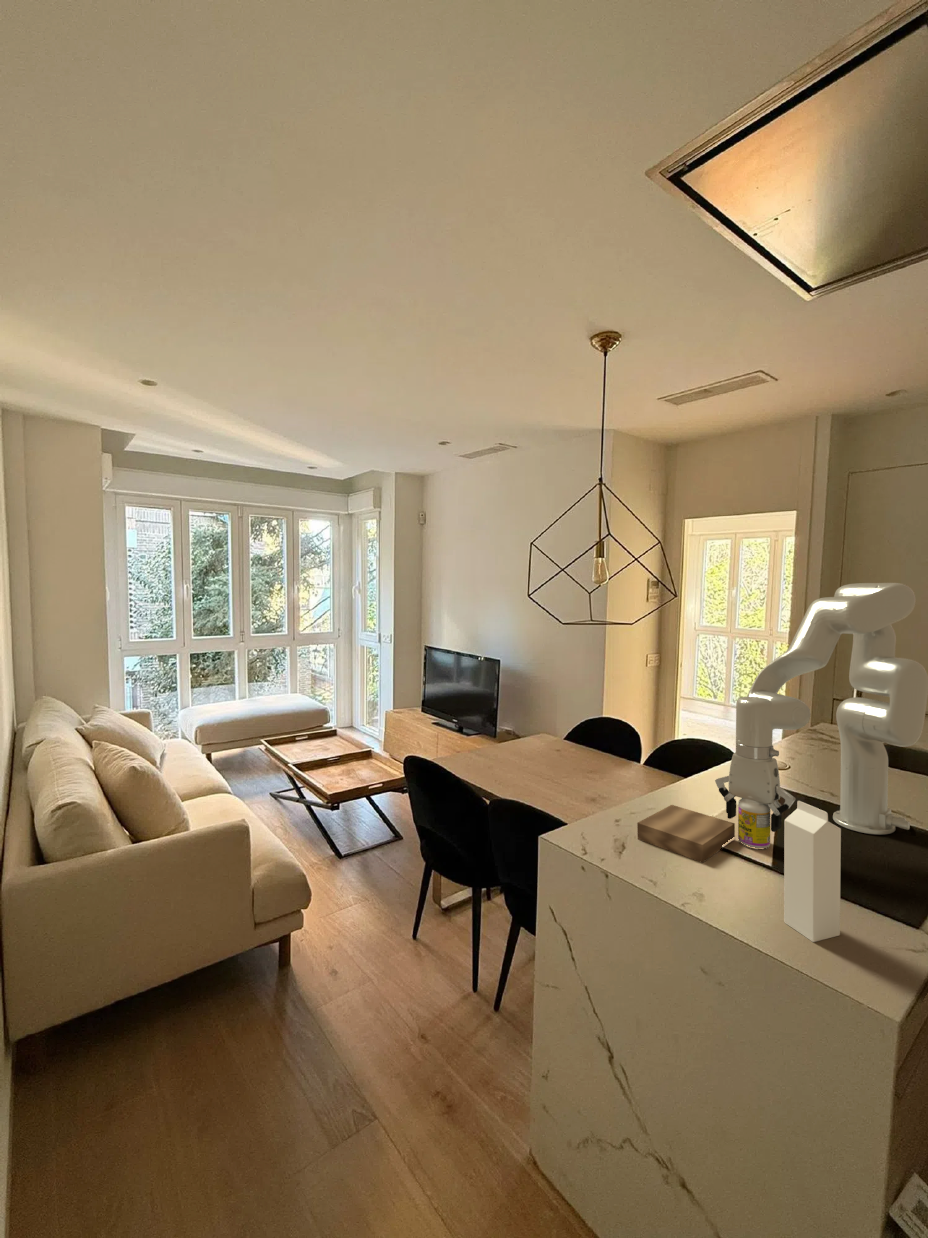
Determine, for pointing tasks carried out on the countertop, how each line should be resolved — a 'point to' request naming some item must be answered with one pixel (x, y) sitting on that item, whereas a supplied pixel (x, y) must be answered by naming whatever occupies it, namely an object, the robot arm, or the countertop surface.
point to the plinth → (686, 832)
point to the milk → (812, 873)
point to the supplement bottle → (753, 823)
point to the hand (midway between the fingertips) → (752, 823)
